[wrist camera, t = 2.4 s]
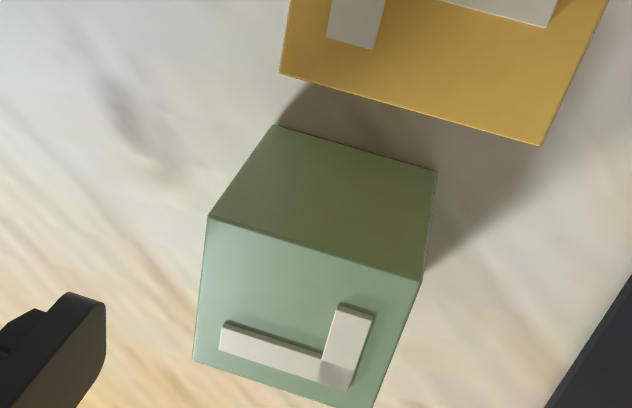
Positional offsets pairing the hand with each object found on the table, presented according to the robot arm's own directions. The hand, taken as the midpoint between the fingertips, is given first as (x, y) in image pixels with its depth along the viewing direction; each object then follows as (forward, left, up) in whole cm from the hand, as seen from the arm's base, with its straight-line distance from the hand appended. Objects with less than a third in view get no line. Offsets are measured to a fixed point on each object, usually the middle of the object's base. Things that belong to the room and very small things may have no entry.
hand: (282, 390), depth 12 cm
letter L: (0, 0, -6) cm, 6 cm away
